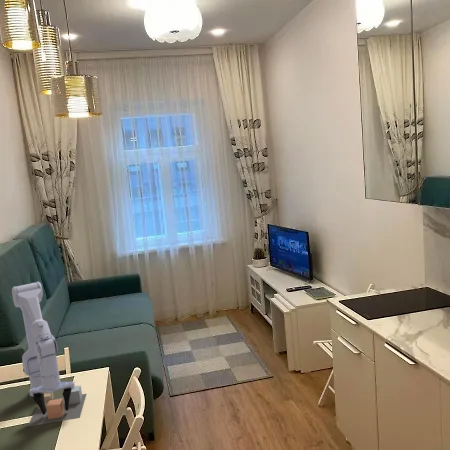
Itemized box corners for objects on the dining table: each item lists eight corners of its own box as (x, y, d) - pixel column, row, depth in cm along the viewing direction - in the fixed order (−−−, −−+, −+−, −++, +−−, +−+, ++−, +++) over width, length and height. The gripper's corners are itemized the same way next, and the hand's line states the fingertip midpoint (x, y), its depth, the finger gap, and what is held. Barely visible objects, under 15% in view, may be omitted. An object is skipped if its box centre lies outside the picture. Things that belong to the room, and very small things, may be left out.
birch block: (41, 403, 175) (39, 392, 174) (54, 401, 176) (52, 389, 175) (38, 409, 170) (36, 397, 170) (51, 407, 171) (50, 395, 171)
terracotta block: (51, 412, 167) (49, 400, 167) (64, 410, 168) (62, 398, 167) (48, 419, 163) (46, 406, 162) (62, 416, 163) (60, 404, 163)
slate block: (69, 399, 176) (68, 387, 176) (82, 396, 177) (80, 385, 176) (67, 404, 172) (66, 392, 171) (80, 402, 173) (78, 390, 172)
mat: (39, 402, 177) (39, 401, 177) (86, 394, 179) (86, 393, 179) (27, 428, 159) (27, 426, 159) (79, 419, 162) (79, 417, 162)
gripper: (24, 382, 159) (31, 420, 160) (70, 375, 161) (75, 413, 162) (30, 373, 165) (36, 410, 167) (73, 366, 168) (78, 403, 169)
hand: (56, 411), depth 165 cm, fingers open, 7 cm apart
